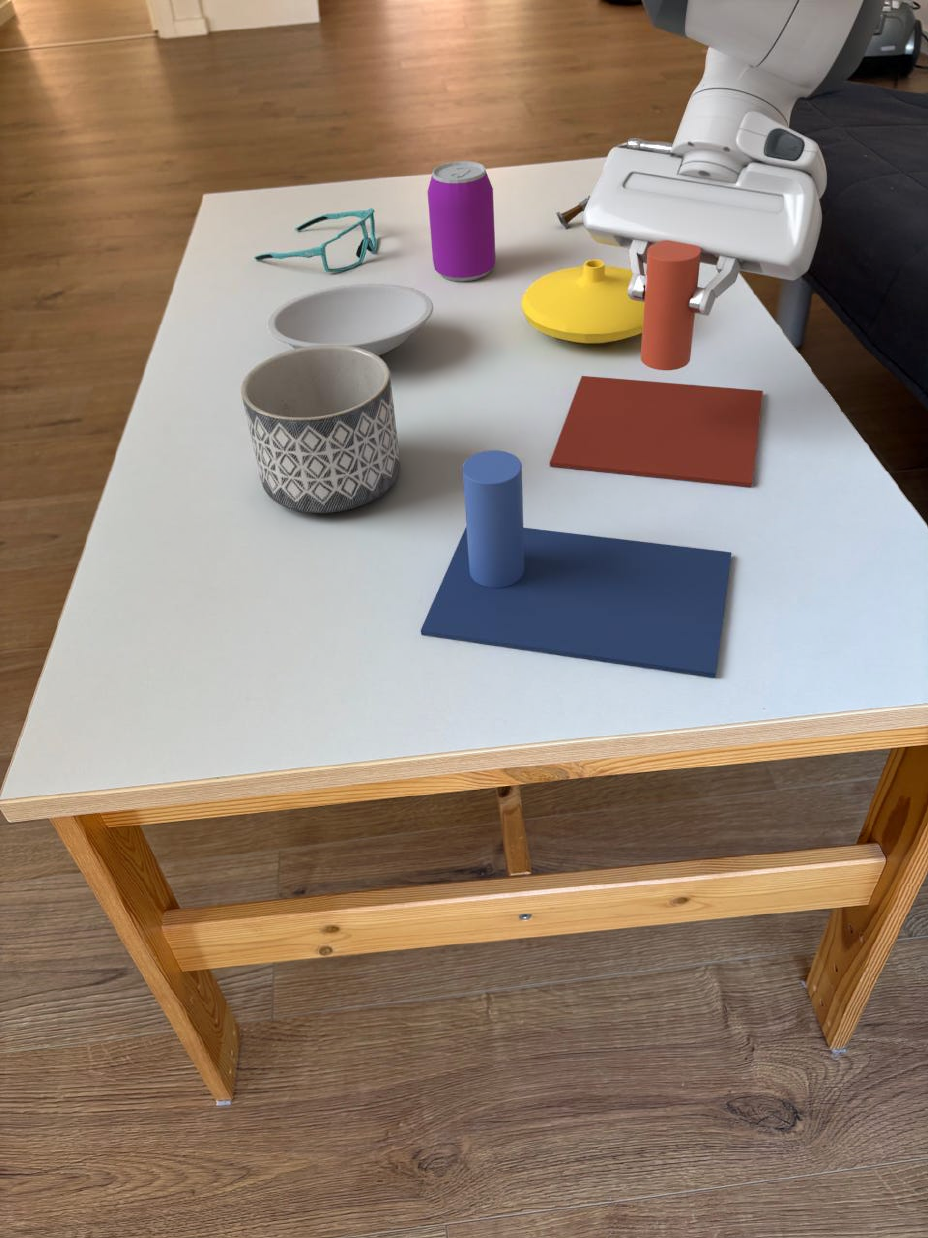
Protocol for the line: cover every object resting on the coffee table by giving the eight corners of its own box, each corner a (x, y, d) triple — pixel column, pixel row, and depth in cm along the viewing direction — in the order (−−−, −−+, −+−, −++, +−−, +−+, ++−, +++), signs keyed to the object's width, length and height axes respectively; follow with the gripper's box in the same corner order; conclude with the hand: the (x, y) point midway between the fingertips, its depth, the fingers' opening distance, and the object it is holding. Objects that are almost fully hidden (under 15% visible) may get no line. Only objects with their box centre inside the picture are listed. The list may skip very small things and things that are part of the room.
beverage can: (483, 286, 122) (479, 184, 114) (424, 280, 124) (415, 179, 116) (504, 260, 127) (501, 160, 119) (447, 255, 130) (440, 156, 122)
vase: (626, 284, 121) (629, 224, 116) (690, 341, 109) (696, 278, 105) (501, 310, 117) (499, 250, 113) (553, 372, 106) (553, 308, 101)
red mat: (762, 394, 101) (763, 390, 100) (751, 487, 89) (752, 482, 89) (581, 379, 105) (581, 375, 104) (549, 466, 93) (549, 461, 93)
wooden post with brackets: (625, 211, 134) (613, 181, 131) (572, 244, 135) (559, 215, 132) (620, 206, 136) (608, 176, 133) (568, 240, 137) (555, 211, 134)
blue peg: (529, 557, 83) (527, 453, 76) (517, 591, 80) (514, 486, 73) (477, 550, 84) (471, 447, 77) (463, 584, 81) (455, 480, 74)
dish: (426, 316, 117) (422, 274, 114) (446, 376, 107) (443, 332, 103) (272, 337, 116) (264, 295, 112) (278, 400, 105) (269, 356, 102)
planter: (396, 437, 99) (384, 337, 92) (407, 513, 89) (394, 409, 82) (265, 452, 98) (243, 352, 91) (262, 530, 89) (237, 427, 82)
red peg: (692, 348, 93) (703, 240, 86) (687, 372, 90) (698, 262, 83) (644, 345, 94) (651, 237, 87) (637, 368, 91) (644, 259, 84)
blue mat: (730, 556, 82) (731, 551, 82) (715, 678, 73) (716, 673, 72) (468, 525, 88) (468, 520, 87) (420, 634, 78) (420, 630, 77)
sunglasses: (345, 281, 125) (336, 240, 122) (248, 277, 132) (237, 238, 129) (399, 237, 134) (392, 198, 131) (306, 235, 141) (297, 198, 138)
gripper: (605, 116, 89) (549, 267, 90) (838, 147, 80) (774, 315, 81) (625, 153, 95) (573, 295, 95) (845, 186, 86) (786, 343, 86)
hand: (667, 305), depth 88 cm, fingers closed on red peg, 4 cm apart
